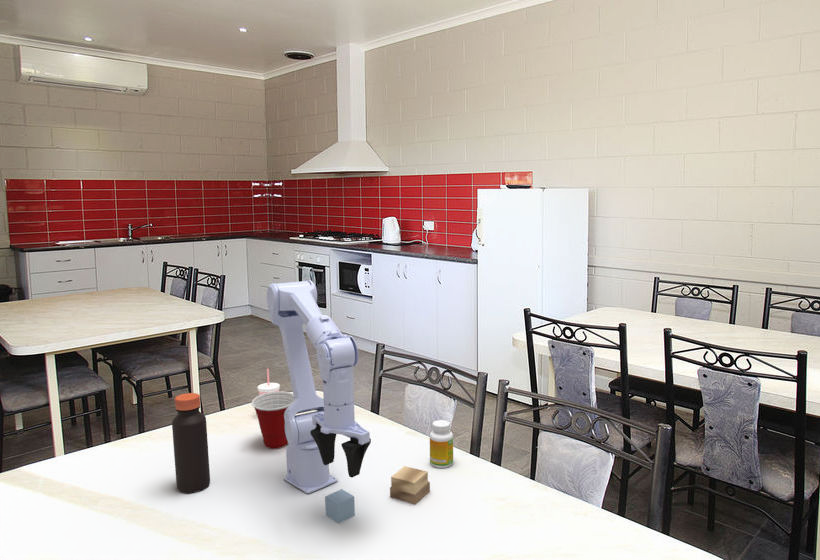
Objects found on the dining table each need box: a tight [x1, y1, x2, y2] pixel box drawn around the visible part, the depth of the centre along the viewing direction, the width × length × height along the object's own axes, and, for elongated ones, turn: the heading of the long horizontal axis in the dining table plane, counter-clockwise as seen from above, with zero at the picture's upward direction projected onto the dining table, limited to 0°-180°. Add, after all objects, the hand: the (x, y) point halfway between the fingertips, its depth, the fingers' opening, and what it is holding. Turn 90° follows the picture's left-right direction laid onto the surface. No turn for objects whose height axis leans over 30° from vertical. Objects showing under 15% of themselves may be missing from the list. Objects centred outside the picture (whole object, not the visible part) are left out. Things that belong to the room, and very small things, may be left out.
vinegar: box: [171, 392, 211, 494], centre depth 124 cm, size 7×7×20 cm
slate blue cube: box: [324, 488, 356, 524], centre depth 113 cm, size 4×4×4 cm
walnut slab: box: [389, 481, 431, 505], centre depth 121 cm, size 6×6×2 cm
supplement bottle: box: [429, 419, 454, 469], centre depth 134 cm, size 5×5×10 cm
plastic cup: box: [251, 390, 294, 449], centre depth 146 cm, size 11×11×12 cm
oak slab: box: [390, 465, 429, 495], centre depth 120 cm, size 6×6×2 cm
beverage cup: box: [256, 368, 281, 396], centre depth 165 cm, size 6×6×14 cm
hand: (341, 469), depth 112 cm, fingers open, 7 cm apart
